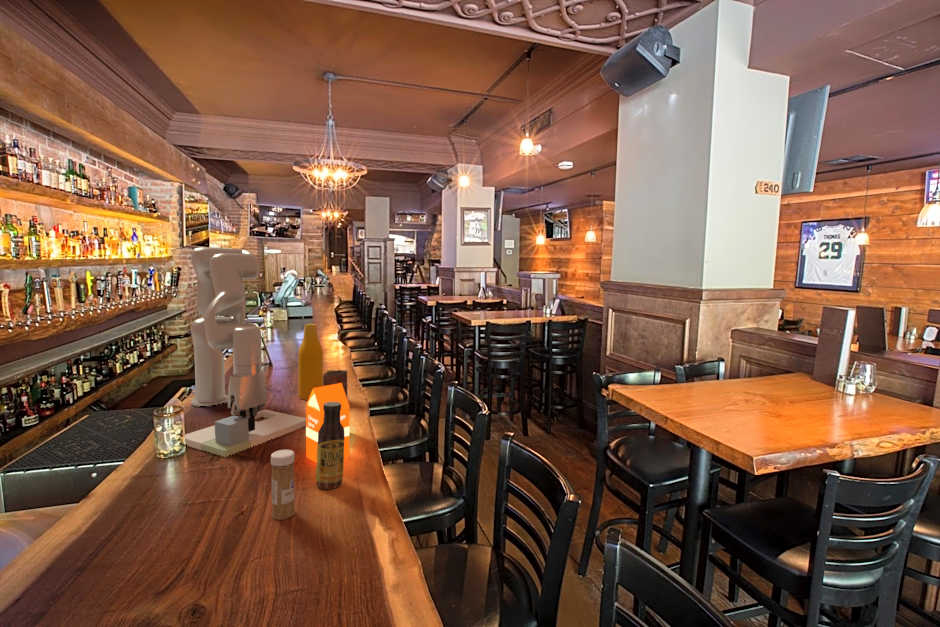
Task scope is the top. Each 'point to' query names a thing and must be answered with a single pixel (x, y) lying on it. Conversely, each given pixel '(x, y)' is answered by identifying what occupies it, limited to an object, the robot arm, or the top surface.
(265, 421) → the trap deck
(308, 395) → the beer bottle
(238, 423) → the block
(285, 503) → the sprinkles bottle
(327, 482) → the sauce bottle
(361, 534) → the top surface
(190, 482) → the top surface
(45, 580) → the top surface
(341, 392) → the orange juice
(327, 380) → the brown piece
